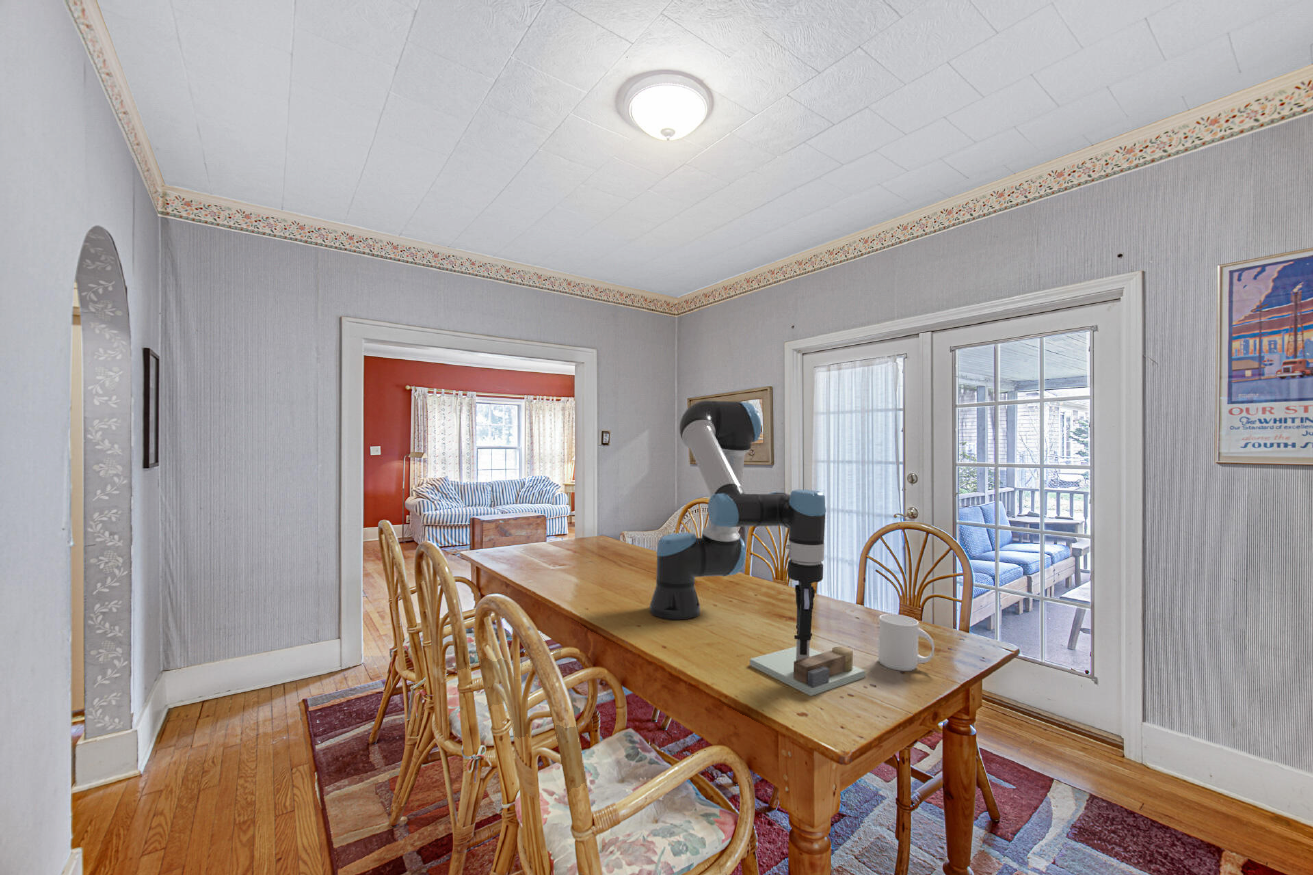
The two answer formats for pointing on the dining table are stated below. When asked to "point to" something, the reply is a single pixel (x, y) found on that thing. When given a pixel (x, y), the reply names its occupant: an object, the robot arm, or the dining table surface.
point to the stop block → (818, 677)
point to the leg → (825, 663)
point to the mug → (900, 642)
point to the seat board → (783, 670)
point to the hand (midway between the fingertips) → (802, 666)
